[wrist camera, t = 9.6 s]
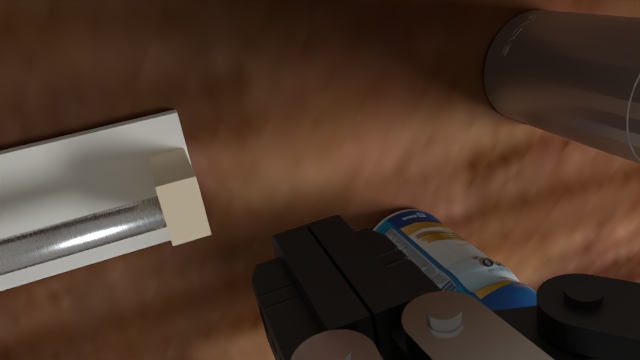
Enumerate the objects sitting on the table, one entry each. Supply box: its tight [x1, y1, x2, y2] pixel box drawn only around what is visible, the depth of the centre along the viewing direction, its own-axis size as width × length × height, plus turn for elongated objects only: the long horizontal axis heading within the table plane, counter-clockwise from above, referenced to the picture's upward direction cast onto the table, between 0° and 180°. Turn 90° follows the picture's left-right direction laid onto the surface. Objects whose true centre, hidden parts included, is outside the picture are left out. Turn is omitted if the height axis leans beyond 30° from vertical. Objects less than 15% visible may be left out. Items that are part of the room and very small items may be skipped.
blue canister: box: [373, 209, 537, 310], centre depth 39 cm, size 8×8×20 cm
